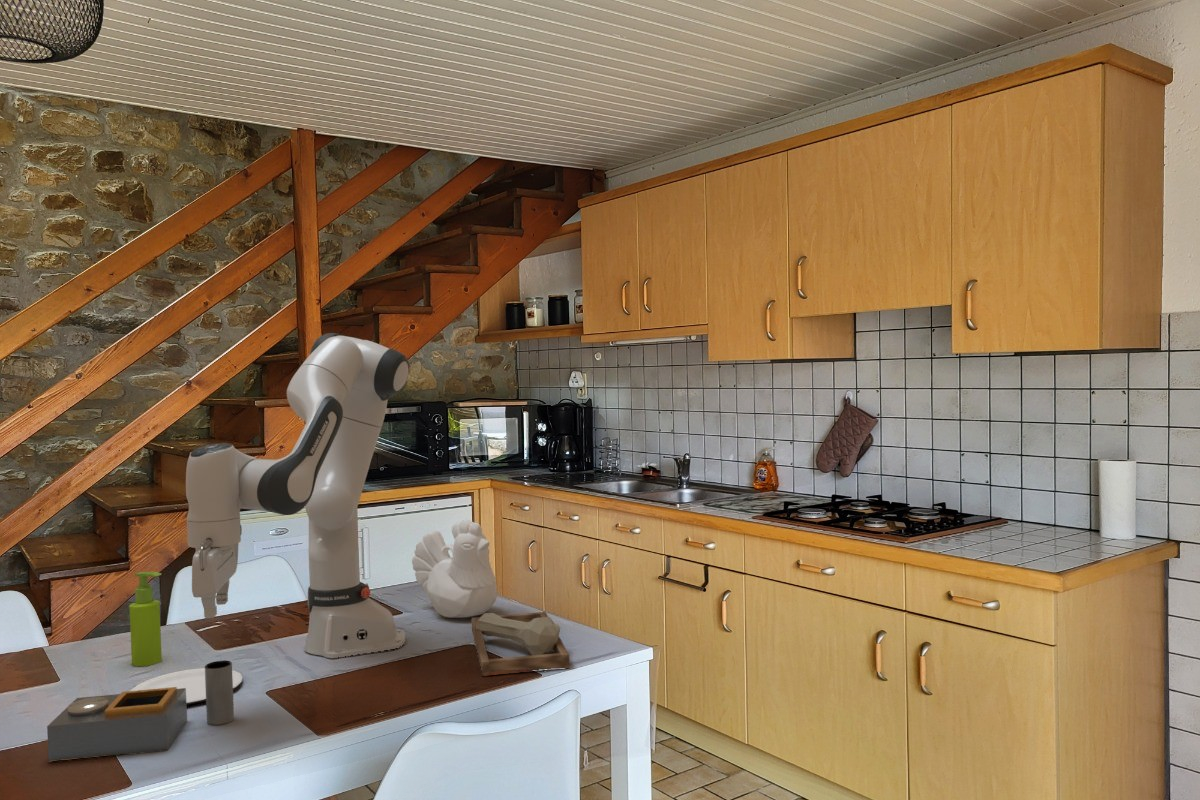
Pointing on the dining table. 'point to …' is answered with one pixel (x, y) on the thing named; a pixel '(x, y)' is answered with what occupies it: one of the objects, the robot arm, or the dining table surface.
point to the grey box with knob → (118, 724)
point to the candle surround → (524, 662)
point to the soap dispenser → (145, 624)
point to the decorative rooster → (456, 571)
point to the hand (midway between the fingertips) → (216, 610)
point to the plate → (185, 683)
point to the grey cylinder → (219, 692)
